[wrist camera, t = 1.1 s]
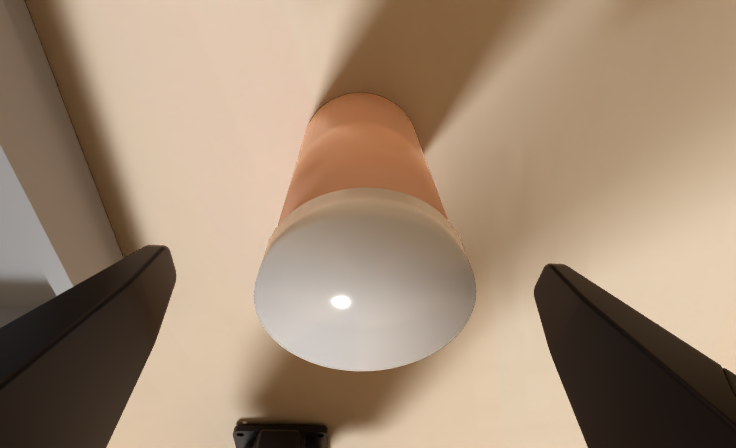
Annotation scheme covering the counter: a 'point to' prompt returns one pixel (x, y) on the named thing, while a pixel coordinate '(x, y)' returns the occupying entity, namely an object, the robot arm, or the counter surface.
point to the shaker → (363, 246)
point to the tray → (42, 180)
